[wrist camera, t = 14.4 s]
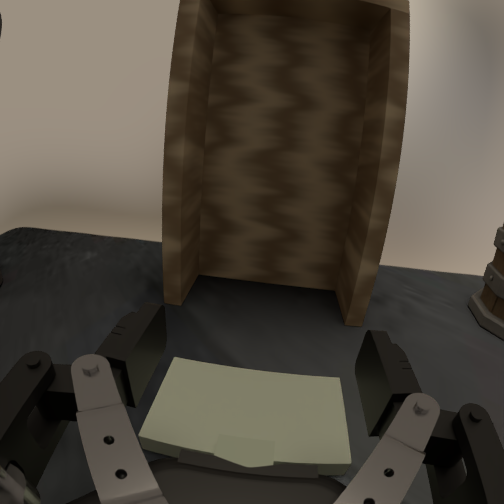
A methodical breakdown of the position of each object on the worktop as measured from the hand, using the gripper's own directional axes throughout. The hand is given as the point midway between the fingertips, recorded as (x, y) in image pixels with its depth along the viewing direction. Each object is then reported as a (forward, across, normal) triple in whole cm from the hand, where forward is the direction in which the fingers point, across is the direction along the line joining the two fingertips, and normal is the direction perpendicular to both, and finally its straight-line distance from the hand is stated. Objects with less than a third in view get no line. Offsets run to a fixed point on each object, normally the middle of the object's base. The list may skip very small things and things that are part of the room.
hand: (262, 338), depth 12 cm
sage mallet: (-2, 0, +9) cm, 10 cm away
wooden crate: (+21, 0, +10) cm, 23 cm away
